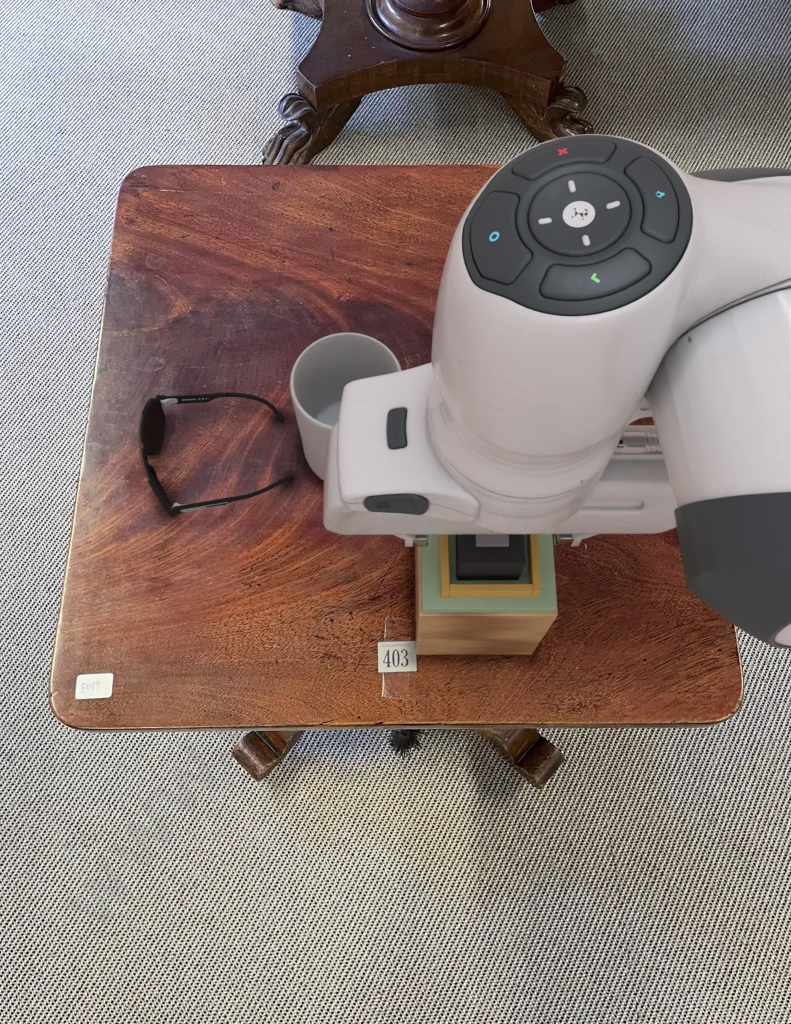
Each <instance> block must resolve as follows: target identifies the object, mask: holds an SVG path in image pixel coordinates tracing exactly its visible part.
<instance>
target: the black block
mask: <svg viewBox="0 0 791 1024" xmlns="http://www.w3.org/2000/svg"><path fill="white" fill-rule="evenodd" d="M455 536H456V572H457V580H519V578H520V575H521V573H522V571H523V569H524V566H525V564H526V558H525V541H524V534H455Z"/></svg>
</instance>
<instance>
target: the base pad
mask: <svg viewBox="0 0 791 1024" xmlns="http://www.w3.org/2000/svg"><path fill="white" fill-rule="evenodd" d="M552 539H553V534H524V541H525V558H526V564H525V566H524V569H523V571H522V573H521V575H520V578H519V580H457V572H456V536H455V534H441V535H428V546H427V547H421V570H422V612H555V611H556V609H558V597H557V598H556V595H557V585H556V584H555V581H556V570H554V567H555V555H554V556H553V553H554V541H553V542H552Z"/></svg>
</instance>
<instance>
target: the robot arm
mask: <svg viewBox="0 0 791 1024" xmlns="http://www.w3.org/2000/svg"><path fill="white" fill-rule="evenodd" d="M436 299H437V300H436V304H435V311H434V316H433V317H434V318H433V326H432V338H431V355H430V356H431V361H430V362H429V363H424V364H421V365H418V366H415V367H411V368H408V369H404V370H402V371H399V372H395V373H390V374H385V375H380V376H375V377H369V378H364V379H359V380H355V381H352V382H350V383H348V384H347V385H345V387H344V389H343V394H342V399H341V405H340V412H339V420H338V423H337V424H336V425H335V426H334V427H333V428H332V430H331V432H330V434H329V438H328V442H327V447H326V455H325V471H324V481H323V499H322V500H323V504H322V506H323V507H322V522H323V527H324V529H325V530H326V531H328V532H331V533H334V534H337V535H340V536H341V535H343V536H361V535H362V536H364V535H365V536H369V535H370V536H375V535H376V536H378V535H379V536H381V535H383V536H390V535H393V536H395V537H396V538H400V539H402V540H404V547H405V548H406V547H407V548H410V547H411V548H412V547H413V548H415V547H427V546H428V535H441V534H552V535H554V536H553V546H555V547H579V546H580V544H581V543H582V541H583V540H586V539H588V538H591V537H595V536H597V535H655V534H661V533H664V532H665V533H666V532H668V531H671V530H673V529H676V531H677V538H678V543H679V549H680V556H681V562H682V567H683V572H684V577H685V578H684V579H685V584H686V588H687V589H688V590H689V592H691V593H692V594H693V595H695V596H696V597H697V599H699V600H700V601H702V603H704V604H705V605H706V606H707V607H709V608H710V609H711V610H713V612H715V613H716V614H717V615H718V616H719V615H720V617H722V618H723V619H725V620H726V621H728V622H729V623H731V624H732V625H733V626H735V627H736V628H738V629H740V630H741V631H742V632H744V633H746V634H747V635H750V636H751V637H754V638H755V639H757V640H758V641H761V642H762V643H764V644H766V645H767V646H770V647H773V648H776V649H787V650H788V649H789V650H790V649H791V168H785V167H766V166H765V167H760V166H759V167H758V166H757V167H755V166H754V167H753V166H751V167H725V168H713V169H704V170H697V171H693V172H688V173H687V172H686V171H684V170H683V169H682V168H680V167H679V166H678V165H677V164H676V163H675V162H674V161H673V160H671V159H670V158H669V157H667V156H666V155H665V154H664V153H662V152H660V151H658V150H657V149H655V148H653V147H651V146H650V145H647V144H645V143H643V142H640V141H638V140H635V139H631V138H628V137H623V136H619V135H611V134H610V135H609V134H602V133H601V134H599V133H586V134H585V133H584V134H583V133H582V134H574V135H568V136H562V137H557V138H553V139H549V140H546V141H543V142H541V143H538V144H536V145H533V146H531V147H529V148H527V149H525V150H524V151H521V152H519V154H517V155H515V156H514V157H512V158H510V159H509V160H508V161H507V162H506V163H504V164H503V165H502V166H501V167H500V168H499V169H497V170H496V171H495V172H494V173H493V174H491V176H490V177H488V180H486V182H485V183H484V184H483V185H482V186H481V188H480V189H479V190H478V192H477V193H476V194H475V196H474V197H473V198H472V200H471V201H470V203H469V204H468V205H467V207H466V209H465V211H464V212H463V214H462V216H461V218H460V220H459V222H458V224H457V226H456V228H455V230H454V233H453V236H452V238H451V242H450V244H449V248H448V250H447V254H446V257H445V261H444V265H443V269H442V273H441V277H440V282H439V287H438V292H437V298H436ZM643 418H652V421H653V425H651V424H650V425H649V424H647V425H646V424H644V425H643V424H641V425H640V424H638V425H634V424H633V425H632V423H634V422H635V421H637V420H639V419H643Z"/></svg>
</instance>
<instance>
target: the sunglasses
mask: <svg viewBox="0 0 791 1024" xmlns="http://www.w3.org/2000/svg"><path fill="white" fill-rule="evenodd" d="M219 398H240V399H248V400H251V401H252V400H253V401H256V402H260V403H262V404H264V405H265V406H267V407H268V408H269V409H270V410H271V411H272V412H273V413H274V415H275V417H276V419H277V420H278V421H279V422H284V420H285V416H284V415H283V414H282V412H280V410H279V409H278V408H277V407H276V406H275V405H274V404H272V403H271V402H270V401H269V400H267V399H265V398H263V397H261V396H257V395H254V394H250V393H245V392H235V391H233V392H230V391H229V392H227V391H226V392H225V391H224V392H214V393H204V394H203V393H202V394H180V395H179V394H178V395H164V394H156V395H155V397H151V398H149V399H148V400H147V401H146V403H145V405H144V407H143V409H142V411H141V414H140V418H139V423H138V431H137V432H138V436H137V437H138V448H139V456H140V463H141V467H142V470H143V474H144V476H145V479H146V481H147V482H148V484H149V486H150V488H151V490H152V491H153V493H154V495H155V496H156V497H157V499H158V500H159V502H160V503H161V505H162V506H163V508H164V509H165V510H166V511H167V513H168V514H169V515H170V516H171V518H173V519H174V518H175V517H176V516H177V515H181V514H182V515H183V514H185V513H189V512H194V511H201V510H206V509H212V508H213V509H214V508H218V507H223V506H226V505H228V504H230V503H233V502H237V501H243V500H247V499H251V498H254V497H257V496H259V495H262V494H264V493H266V492H268V491H270V490H272V489H274V488H276V487H278V486H280V485H282V484H285V483H290V482H291V481H293V479H294V478H295V475H293V474H289V475H287V476H285V477H283V478H280V479H278V480H277V481H275V482H273V483H271V484H269V485H267V486H265V487H262V488H260V489H259V490H256V491H252V492H250V493H246V494H240V495H236V496H229V497H222V498H217V499H216V498H215V499H211V500H205V501H204V500H203V501H199V502H193V503H185V504H182V503H181V504H180V503H178V502H174V503H173V505H172V504H171V503H172V502H171V501H170V499H169V497H168V494H167V492H166V490H165V488H164V486H163V485H162V483H161V481H160V480H159V478H158V474H157V471H156V469H155V468H154V466H153V465H151V464H150V463H149V458H148V457H150V456H157V455H158V454H159V453H160V452H161V451H162V447H163V443H164V436H165V430H166V423H167V420H166V419H167V418H166V414H165V411H164V408H163V406H164V407H165V408H166V407H167V406H169V405H182V404H183V405H184V404H185V405H186V404H204V403H210V402H211V401H213V400H215V399H219Z"/></svg>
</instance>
